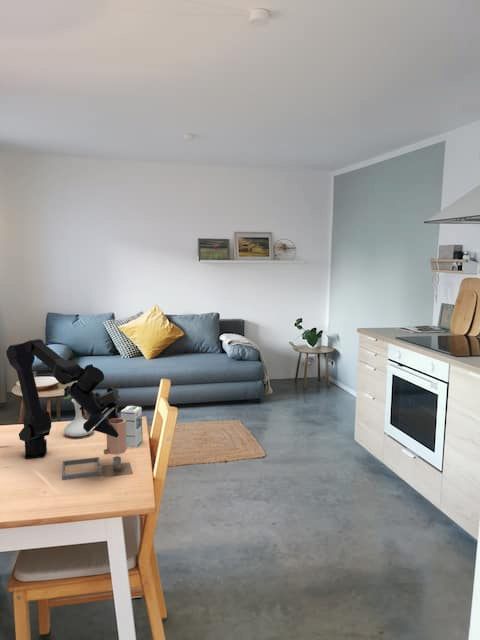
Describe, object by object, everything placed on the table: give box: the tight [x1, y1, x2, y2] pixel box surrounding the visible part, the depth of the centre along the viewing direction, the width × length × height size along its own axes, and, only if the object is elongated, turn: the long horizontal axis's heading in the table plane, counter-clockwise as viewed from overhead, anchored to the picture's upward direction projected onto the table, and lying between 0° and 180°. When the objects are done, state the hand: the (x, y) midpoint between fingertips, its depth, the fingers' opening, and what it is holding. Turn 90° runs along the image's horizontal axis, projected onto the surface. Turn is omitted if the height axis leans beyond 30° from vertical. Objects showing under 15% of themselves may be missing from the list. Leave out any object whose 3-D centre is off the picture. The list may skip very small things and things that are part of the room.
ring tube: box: [103, 417, 127, 456], centre depth 161 cm, size 7×6×10 cm
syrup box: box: [120, 405, 144, 448], centre depth 184 cm, size 6×6×14 cm
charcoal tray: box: [61, 456, 102, 481], centre depth 162 cm, size 11×11×2 cm
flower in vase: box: [57, 382, 95, 438], centre depth 194 cm, size 13×11×25 cm
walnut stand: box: [101, 455, 134, 478], centre depth 163 cm, size 9×9×5 cm
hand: (120, 432), depth 161 cm, fingers closed on ring tube, 6 cm apart
